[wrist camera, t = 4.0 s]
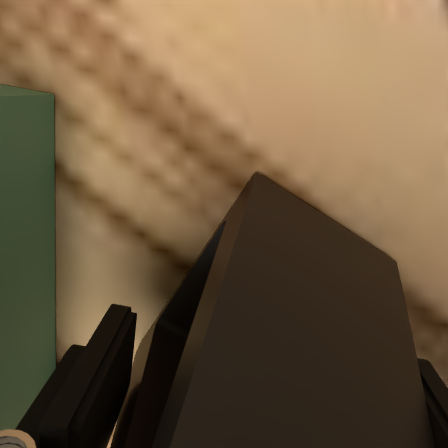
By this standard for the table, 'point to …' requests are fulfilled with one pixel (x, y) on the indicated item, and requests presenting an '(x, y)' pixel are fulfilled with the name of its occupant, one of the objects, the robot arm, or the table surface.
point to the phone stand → (279, 341)
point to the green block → (26, 249)
